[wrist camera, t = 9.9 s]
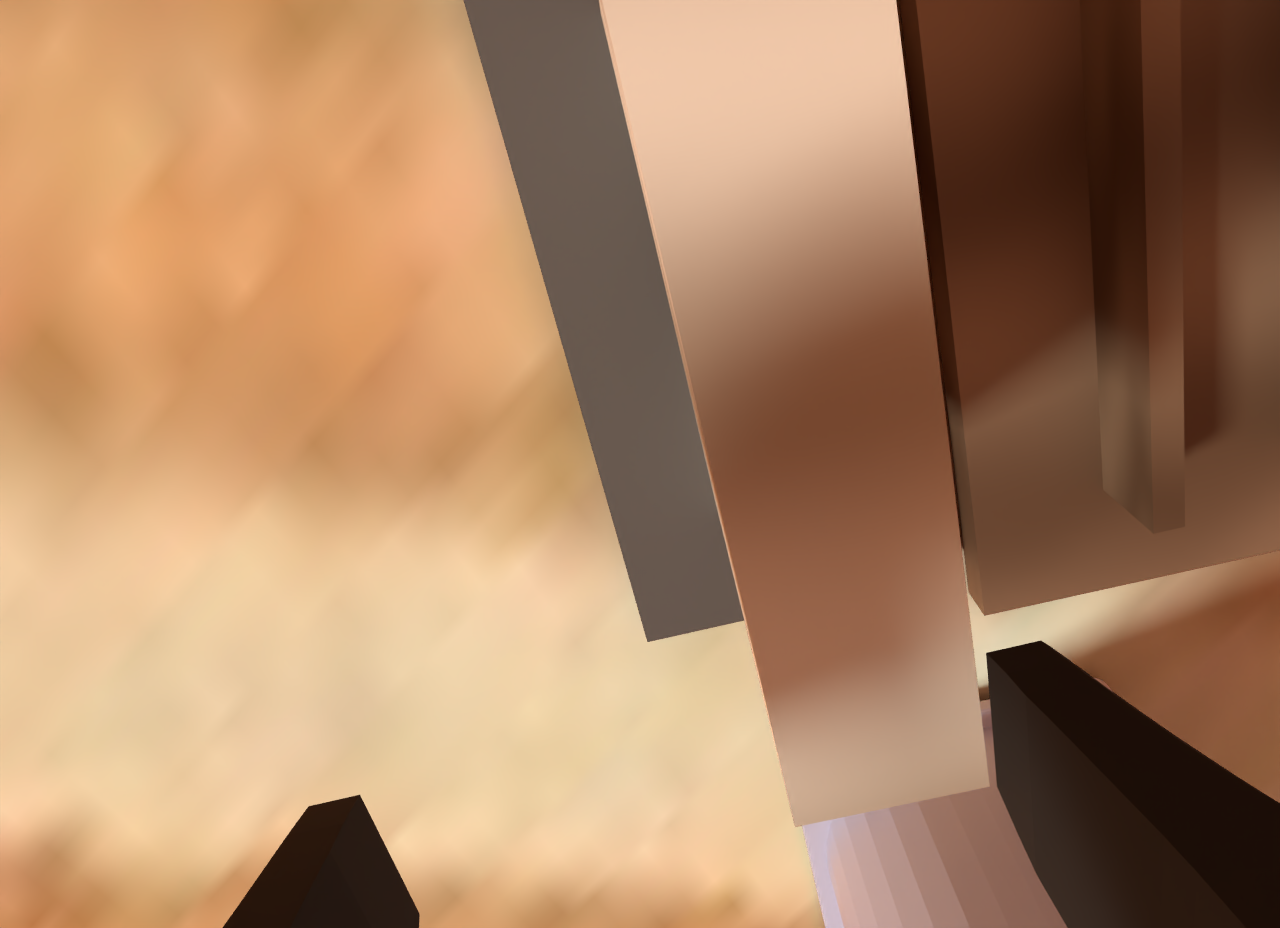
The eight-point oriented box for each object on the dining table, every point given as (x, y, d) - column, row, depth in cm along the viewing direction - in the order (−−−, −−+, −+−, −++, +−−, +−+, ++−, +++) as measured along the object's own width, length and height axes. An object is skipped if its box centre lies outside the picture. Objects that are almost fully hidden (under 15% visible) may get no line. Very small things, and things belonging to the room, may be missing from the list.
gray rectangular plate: (942, 560, 22) (951, 573, 21) (646, 627, 22) (647, 642, 22) (835, -274, 15) (843, -286, 15) (422, -157, 16) (416, -164, 15)
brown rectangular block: (832, 485, 20) (989, 786, 12) (718, 512, 20) (795, 827, 12) (742, -27, 16) (882, -109, 8) (600, 11, 16) (595, -30, 8)
